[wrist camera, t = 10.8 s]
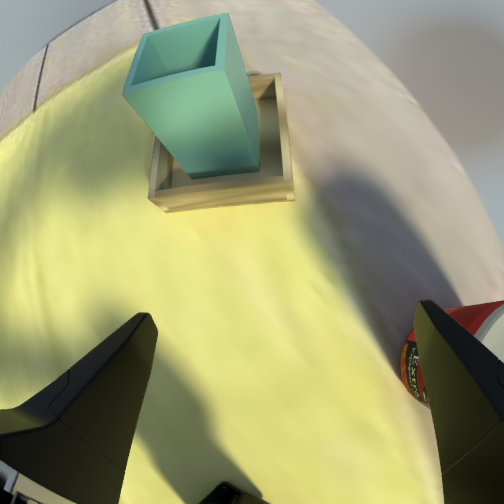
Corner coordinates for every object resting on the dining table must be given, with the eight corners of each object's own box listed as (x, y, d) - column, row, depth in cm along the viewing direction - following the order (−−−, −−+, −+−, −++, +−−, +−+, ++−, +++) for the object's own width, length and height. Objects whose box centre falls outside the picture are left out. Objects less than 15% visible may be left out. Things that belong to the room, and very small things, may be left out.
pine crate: (294, 200, 25) (292, 182, 21) (166, 213, 26) (147, 198, 23) (284, 96, 27) (280, 72, 24) (176, 113, 29) (162, 93, 25)
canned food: (380, 346, 21) (438, 366, 10) (456, 289, 21) (539, 265, 10) (419, 420, 19) (482, 475, 8) (490, 362, 19) (574, 375, 8)
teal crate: (260, 172, 25) (224, 69, 13) (191, 179, 26) (122, 94, 14) (258, 115, 26) (228, 12, 15) (196, 124, 27) (142, 34, 16)
